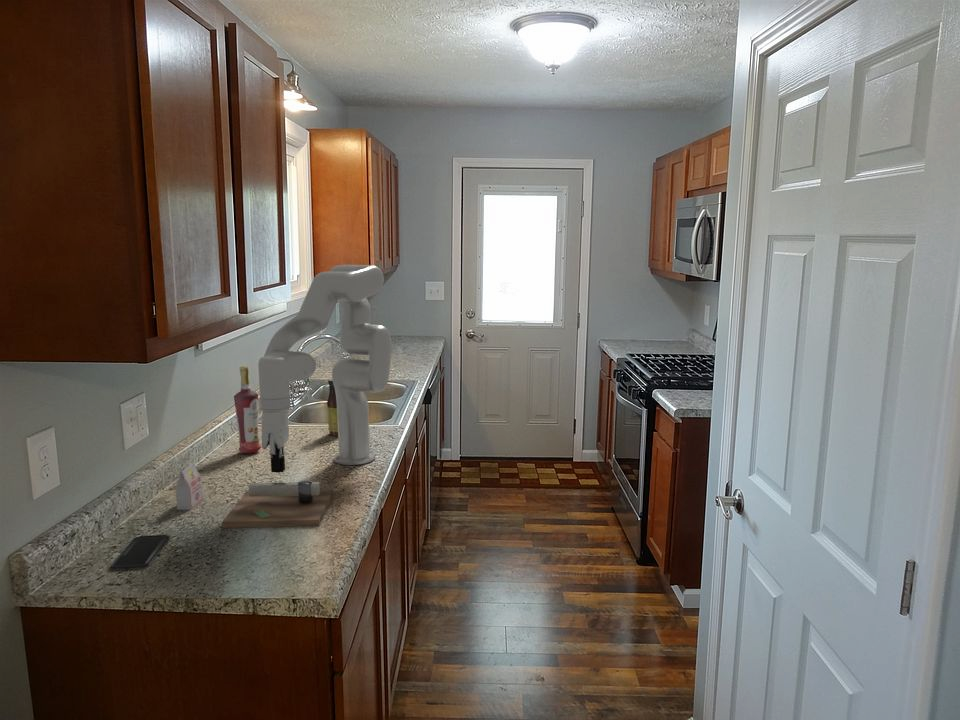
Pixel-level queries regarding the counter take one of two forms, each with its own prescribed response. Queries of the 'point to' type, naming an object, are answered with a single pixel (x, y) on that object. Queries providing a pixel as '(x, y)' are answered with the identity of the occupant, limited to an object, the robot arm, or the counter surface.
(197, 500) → the pink white carton
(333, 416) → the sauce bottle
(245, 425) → the liquor
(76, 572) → the counter surface
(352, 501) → the counter surface
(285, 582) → the counter surface
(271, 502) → the dial board
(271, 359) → the robot arm
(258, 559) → the counter surface
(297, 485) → the dial pointer
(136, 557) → the phone
